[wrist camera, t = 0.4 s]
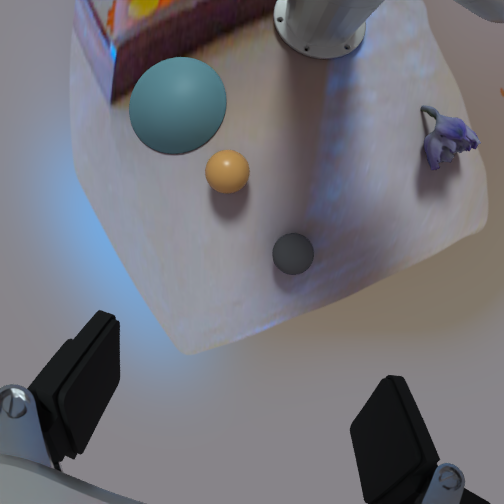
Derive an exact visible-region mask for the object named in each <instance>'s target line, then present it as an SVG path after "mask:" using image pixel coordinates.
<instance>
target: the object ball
mask: <svg viewBox="0 0 504 504" xmlns="http://www.w3.org/2000/svg"><path fill="white" fill-rule="evenodd" d="M249 173H250V170H249V165H248V162H247V160H246V159H245V158H244V157H243V156H242V155H241V154H240V153H238V152H236V151H233V150H222V151H219V152H217V153H215V154H214V155H213V156H212V157H211V158H210V159H209V161H208V162H207V165H206V169H205V175H206V179H207V181H208V183H209V185H210V186H211V187H212V188H213V189H214V190H216V191H218V192H221V193H227V194H228V193H234V192H237V191H239V190H240V189H241V188H243V187H244V185H245V184H246V183H247V181H248V178H249Z"/></svg>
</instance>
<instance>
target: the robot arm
mask: <svg viewBox="0 0 504 504" xmlns="http://www.w3.org/2000/svg"><path fill="white" fill-rule="evenodd" d="M383 1H384V0H277V2H276V5H275V7H274V23H275V27H276V30H277V32H278V34H279V35H280V37H281V38H282V39H283V40H284V42H286V43H287V44H288V45H289V46H290V47H291V48H293V49H294V50H296V51H297V52H299V53H301V54H304V55H306V56H309V57H313V58H318V59H334V58H339V57H342V56H345V55H347V54H349V53H350V52H352V51H353V50H354V49H355V48H356V47H358V45H359V44H360V43H361V41H362V40H363V37H364V35H365V30H366V23H365V21H366V19H367V18H368V17H369V16H370V15H371V14H372V13H373V12H374V11H375V10H376V9H377V8H378V7H379V5H380V4H381V3H382V2H383ZM454 1H456V2H457V3H459V4H460V5H462V6H463V7H465V8H466V9H468V10H469V11H471V12H472V13H474V14H476V15H477V16H479V17H481V18H483V19H485V20H487V21H491V22H495V23H504V0H454ZM279 20H280V21H282V22H278V21H279ZM344 47H346V48H347V50H346V49H345V48H344ZM304 49H308V51H305V50H304ZM119 335H120V323H119V321H117V320H116V317H115V316H114V315H113V314H110V313H106V312H104V311H101V310H99V311H98V312H96V314H95V315H94V316H93V317H92V318H91V319H90V321H89V322H88V323H87V324H86V325H85V326H84V327H83V329H82V330H81V331H80V332H79V333H78V335H77V336H76V337H75V338H74V339H68V340H67V341H66V342H65V343H64V344H63V345H62V346H61V348H60V349H59V350H58V351H57V352H56V354H55V355H54V356H53V357H52V358H51V360H50V361H49V362H48V363H47V365H46V366H45V367H44V368H43V370H42V371H41V372H40V374H38V376H37V377H36V378H35V380H34V381H33V382H32V384H31V385H30V386H29V387H28V388H27V389H26V388H25V387H23V386H20V385H13V384H11V385H6V386H3V387H1V388H0V504H146V503H143V502H140V501H136V500H133V499H130V498H127V497H124V496H121V495H118V494H115V493H112V492H110V491H107V490H104V489H102V488H99V487H97V486H94V485H92V484H89V483H87V482H84V481H82V480H80V479H77V478H75V477H72V476H70V475H67V474H65V473H63V470H62V467H61V464H60V462H61V461H62V460H63V459H64V457H65V456H67V457H69V458H72V459H75V457H76V455H77V453H78V454H82V453H83V452H84V450H85V448H86V446H87V444H88V442H89V440H90V438H91V436H92V434H93V432H94V430H95V428H96V426H97V424H98V422H99V420H100V418H101V416H102V414H103V412H104V411H105V409H106V407H107V405H108V403H109V401H110V399H111V397H112V395H113V393H114V392H115V390H116V388H117V386H118V384H119V380H120V336H119ZM350 434H351V439H352V443H353V448H354V452H355V457H356V462H357V467H358V471H359V476H360V482H361V487H362V492H363V497H364V501H365V502H366V503H368V504H490V503H489V502H488V501H486V500H484V499H482V498H480V497H479V496H477V495H476V494H474V493H472V492H470V491H469V490H467V489H465V488H464V486H465V478H464V475H463V473H462V471H461V470H460V469H459V468H458V467H457V466H455V465H453V464H450V463H444V464H441V465H439V466H438V465H437V462H438V461H439V460H440V458H439V456H438V454H437V451H436V448H435V446H434V444H433V442H432V439H431V437H430V434H429V432H428V429H427V427H426V425H425V423H424V420H423V418H422V416H421V414H420V411H419V409H418V407H417V405H416V402H415V400H414V398H413V396H412V394H411V392H410V390H409V387H408V385H407V383H406V381H405V379H404V378H403V377H402V376H394V375H388V376H386V378H384V379H382V380H381V381H380V383H379V384H378V386H377V388H376V389H375V391H374V392H373V394H372V395H371V397H370V398H369V400H368V401H367V403H366V404H365V406H364V407H363V408H362V410H361V411H360V413H359V414H358V415H357V417H356V418H355V419H354V421H353V422H352V424H351V427H350Z"/></svg>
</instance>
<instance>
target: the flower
mask: <svg viewBox="0 0 504 504" xmlns="http://www.w3.org/2000/svg"><path fill="white" fill-rule="evenodd" d="M421 111H424V112H426V113H428V114H429V115H430V116H432V117H434V118H435V120H436V126H435V130H434V131H433V132H432V133H430V134H429V135H427V136H426V138H425V140H424V149H425V152H426V154H427V160H428V163H429V165H430V167H431V170H434V169H435V170H437V169H439V168H440V167H439V165H438V163H440V162H444V161H445V162H451V161H452V158H453V157H454V155H453V154H452V153H457V152H459V153H461V152H462V151H464V150H466V151H467V150H468V151H470V150H471V148H473V149H476V148H477V146H478V144H479V143H481V142H480V141H479V139H478V137H477V135H476V133H475V132H474V131H472V130H471V129H470V128H469V127H468V126H467V125H465V123H464V122H463V121H462V120H461V119H459V118H457V117H456V118H452V117H446V116H443V115H440V114H439V112H438V111H437V110H436V109H435V108H433V107H431V106H422V107H421Z"/></svg>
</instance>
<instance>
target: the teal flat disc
mask: <svg viewBox="0 0 504 504" xmlns="http://www.w3.org/2000/svg"><path fill="white" fill-rule="evenodd" d="M225 110H226V93H225V88H224V86H223V83H222V81H221V79H220V77H219V76H218V75H217V73H216V72H215V71H214V70H213V69H212V68H211V67H210V66H208V65H207V64H205V63H203V62H201V61H199V60H196V59H193V58H187V57H177V58H171V59H167V60H164V61H162V62H159V63H157V64H156V65H154V66H153V67H151V68H150V69H149V70H147V71H146V72H145V73H144V74H143V75H142V77H141V78H140V79H139V80H138V82H137V84H136V85H135V87H134V90H133V92H132V95H131V98H130V104H129V114H130V120H131V124H132V126H133V129H134V131H135V133H136V134H137V136H138V137H139V138H140V139H141V140H142V141H143V142H144V143H145V144H146V145H147V146H149V147H151V148H152V149H154V150H157V151H159V152H163V153H170V154H178V153H184V152H188V151H191V150H193V149H196V148H198V147H199V146H201V145H203V144H204V143H205V142H207V141H208V140H209V139H210V138H211V137H212V136H213V135H214V134H215V132H216V131H217V130H218V128H219V126H220V125H221V122H222V120H223V118H224V115H225Z"/></svg>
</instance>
